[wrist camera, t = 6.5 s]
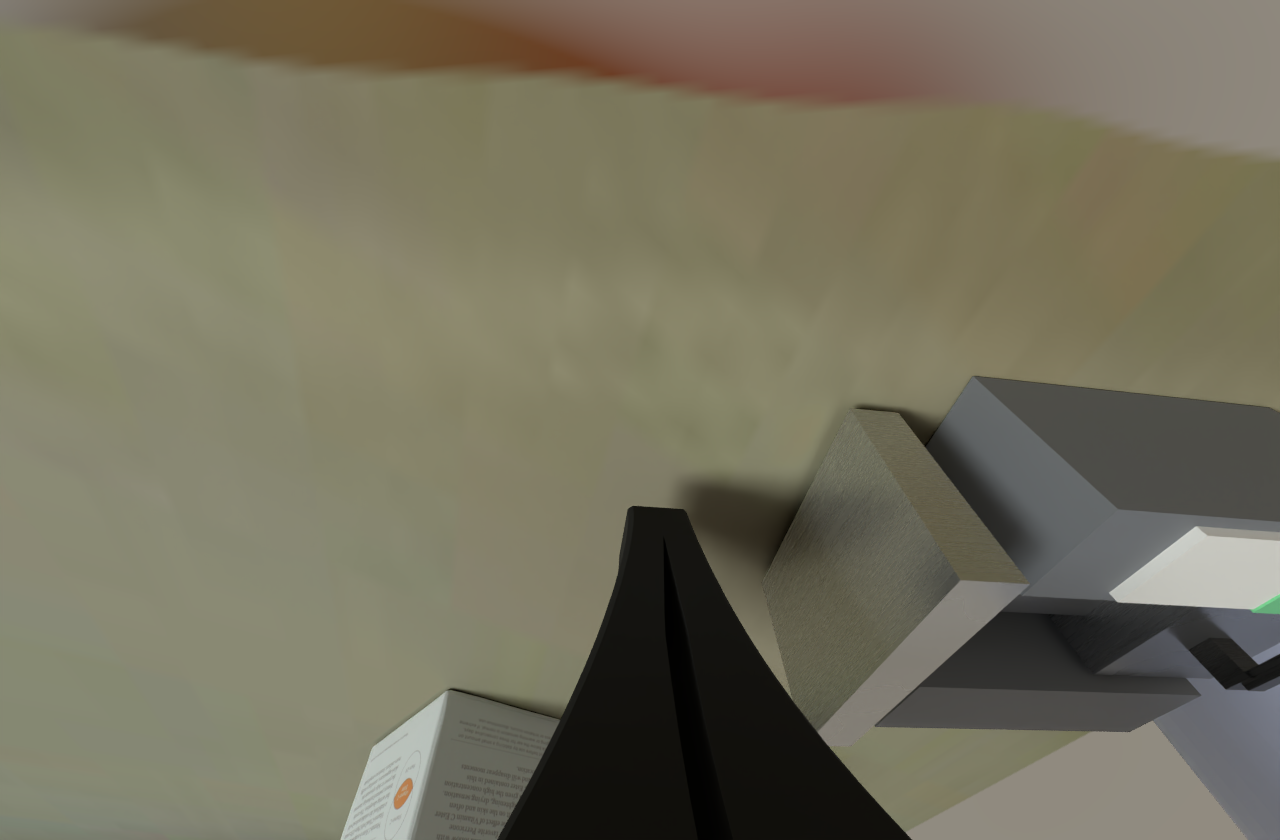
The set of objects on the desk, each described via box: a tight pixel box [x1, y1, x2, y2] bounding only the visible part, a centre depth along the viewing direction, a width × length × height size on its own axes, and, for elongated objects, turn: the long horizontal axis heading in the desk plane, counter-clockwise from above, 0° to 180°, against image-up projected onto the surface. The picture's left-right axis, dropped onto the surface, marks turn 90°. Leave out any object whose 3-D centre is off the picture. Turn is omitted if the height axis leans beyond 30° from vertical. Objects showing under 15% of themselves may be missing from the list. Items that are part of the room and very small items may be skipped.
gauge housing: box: [875, 376, 1280, 732], centre depth 12 cm, size 8×9×4 cm
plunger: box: [762, 408, 1280, 746], centre depth 12 cm, size 11×8×4 cm
